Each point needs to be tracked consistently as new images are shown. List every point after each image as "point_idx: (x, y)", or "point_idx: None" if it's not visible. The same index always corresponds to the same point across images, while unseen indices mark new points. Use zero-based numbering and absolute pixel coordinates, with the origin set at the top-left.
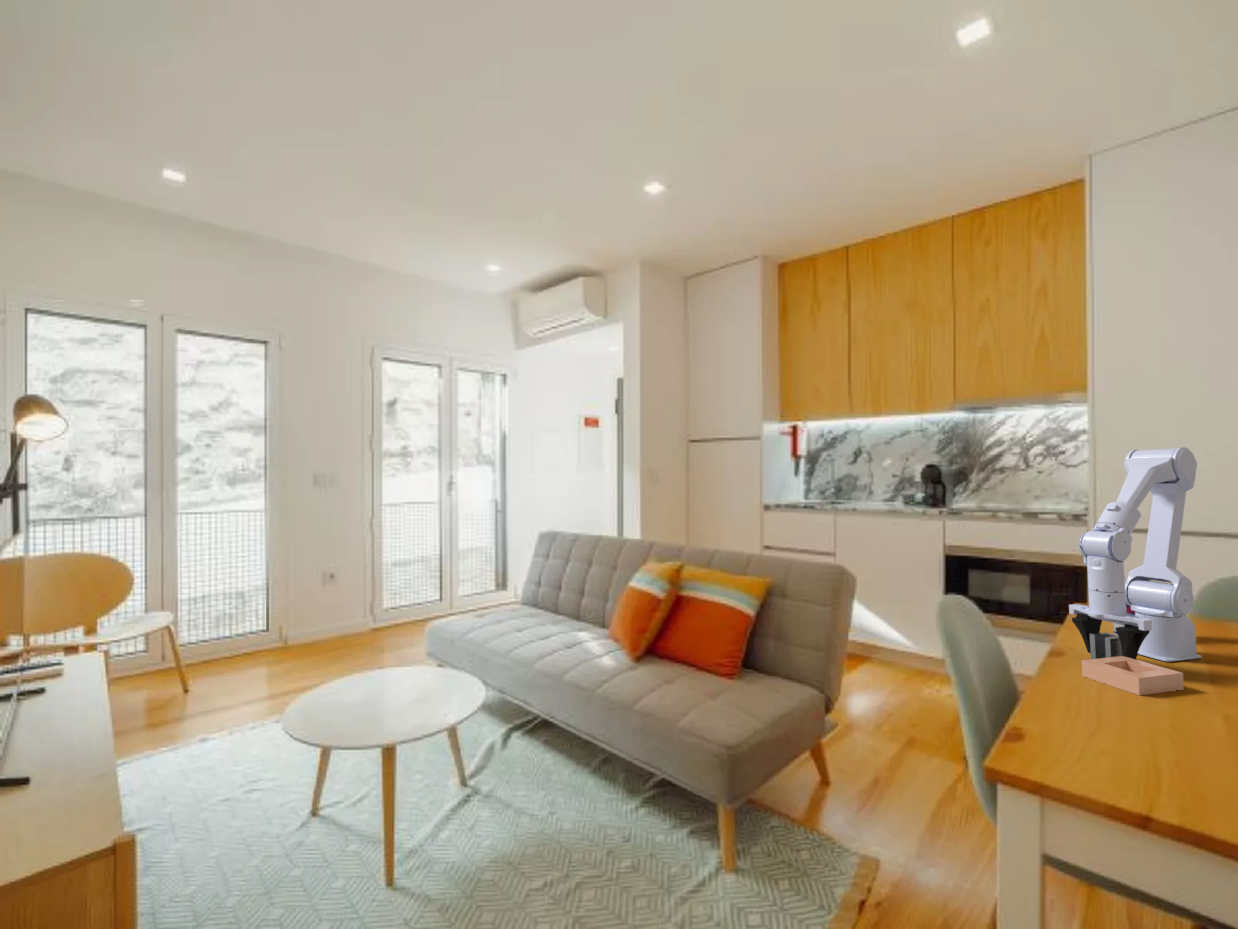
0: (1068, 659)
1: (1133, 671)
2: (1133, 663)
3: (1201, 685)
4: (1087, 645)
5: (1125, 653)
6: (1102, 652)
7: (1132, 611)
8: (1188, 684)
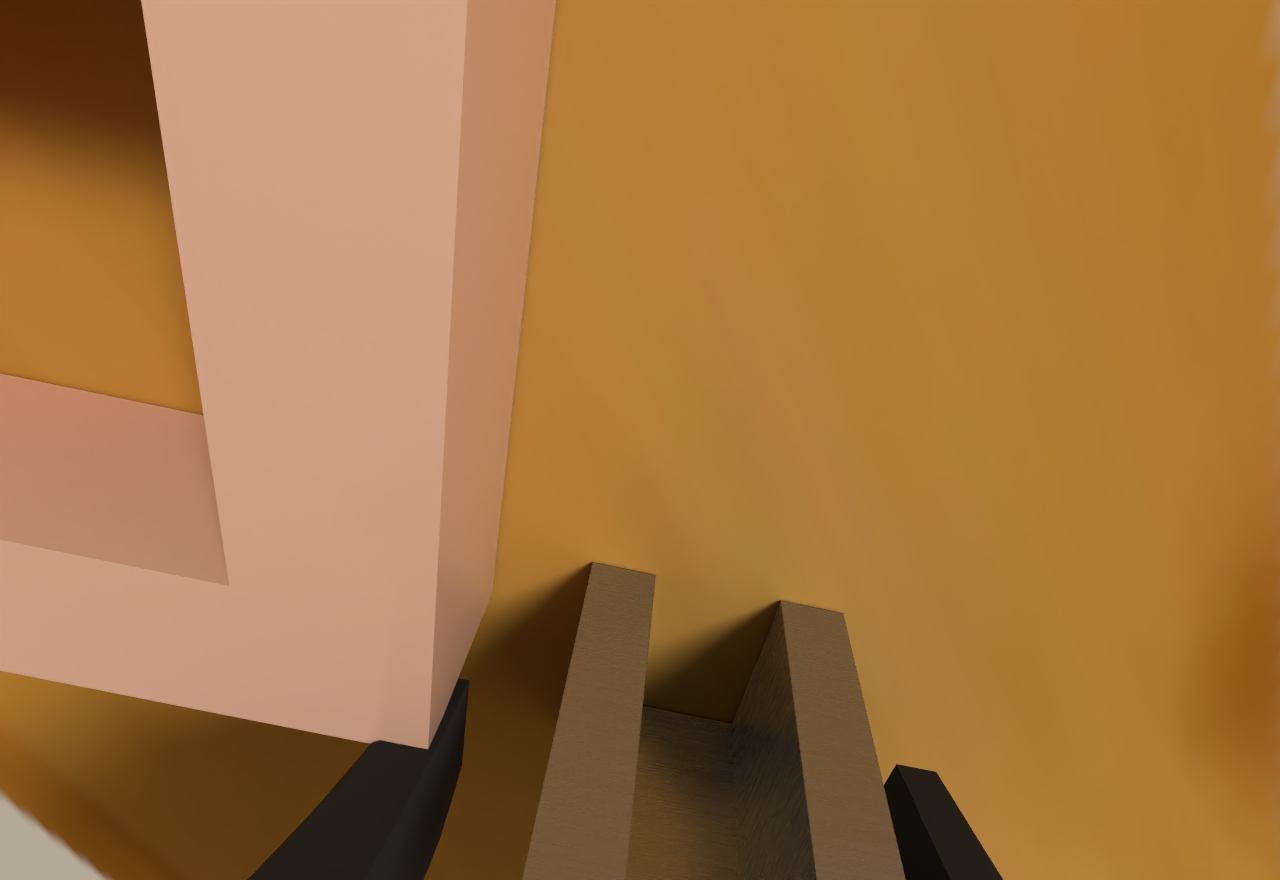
0: (1095, 551)
1: (210, 475)
2: (120, 551)
3: (19, 696)
4: (961, 863)
5: (354, 787)
6: (760, 806)
7: None
8: None
